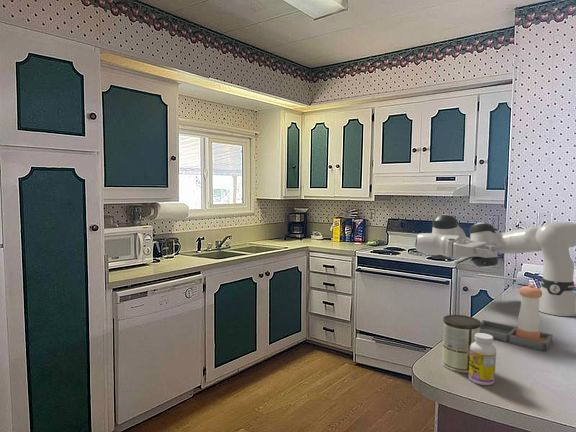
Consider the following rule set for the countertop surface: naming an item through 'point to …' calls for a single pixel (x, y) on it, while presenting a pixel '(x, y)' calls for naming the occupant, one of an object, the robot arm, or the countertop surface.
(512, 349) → the countertop surface
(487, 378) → the supplement bottle
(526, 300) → the salt shaker
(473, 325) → the coffee can
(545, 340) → the tray
